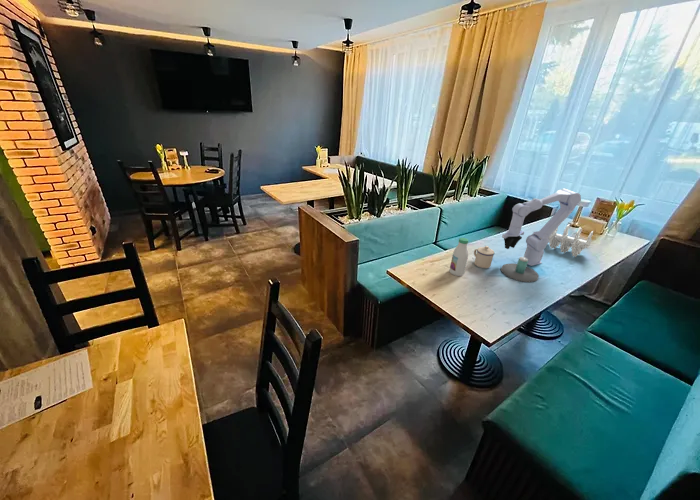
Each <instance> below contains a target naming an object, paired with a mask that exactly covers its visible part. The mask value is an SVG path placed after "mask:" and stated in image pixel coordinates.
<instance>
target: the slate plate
mask: <svg viewBox="0 0 700 500" xmlns="http://www.w3.org/2000/svg"><path fill="white" fill-rule="evenodd" d="M516 266H517V263H504V264H503V265H502V266H501V267H500V271H501V273H502V274H503V275H505V276H506V277H508V278H509V279H511V280H515V281H518V282H522V283H534V282H537V281H538V279H539V274H538V272H537V271H536V270H534V269H532V268H531V267H529V266H526V269H525V272H524V273H523V274H520V273H517V272H516V271H515V269H516Z"/></svg>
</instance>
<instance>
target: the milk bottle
mask: <svg viewBox="0 0 700 500" xmlns="http://www.w3.org/2000/svg"><path fill="white" fill-rule="evenodd" d="M468 244H469V239H468V238H466V237H459V238H458V245H457V246H456V247H455V248H454V250H453V253H452V255H451V262H450V266H449V270H448V271H449V273H450V274H451V275H453V276H456V277H461V276H464V275H465V271H466V268H467V262H468V258H469V249H468Z"/></svg>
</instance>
